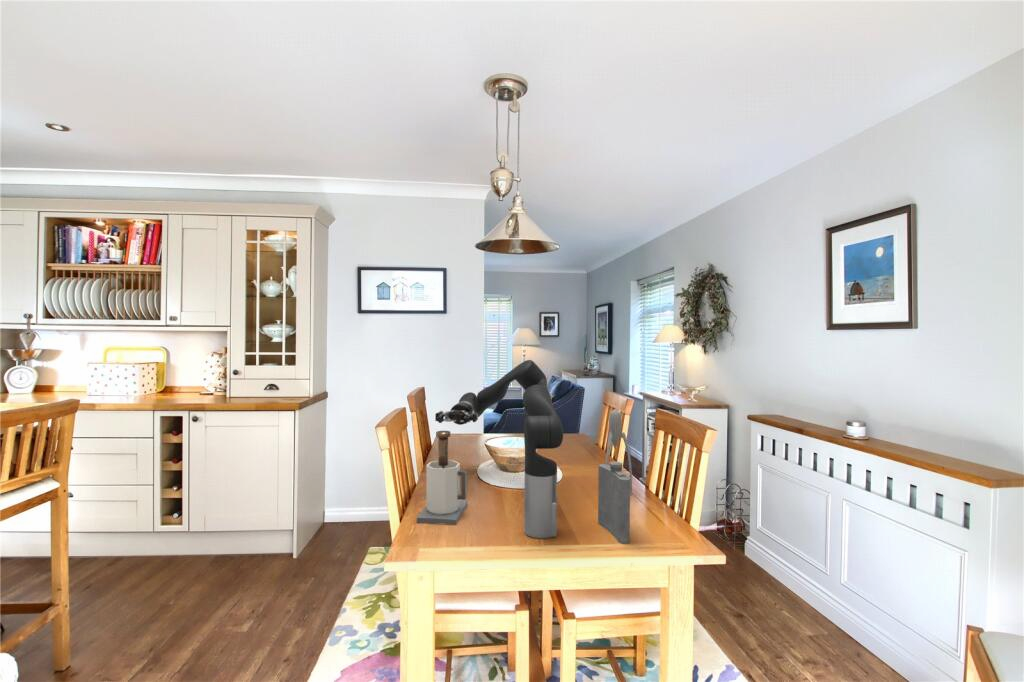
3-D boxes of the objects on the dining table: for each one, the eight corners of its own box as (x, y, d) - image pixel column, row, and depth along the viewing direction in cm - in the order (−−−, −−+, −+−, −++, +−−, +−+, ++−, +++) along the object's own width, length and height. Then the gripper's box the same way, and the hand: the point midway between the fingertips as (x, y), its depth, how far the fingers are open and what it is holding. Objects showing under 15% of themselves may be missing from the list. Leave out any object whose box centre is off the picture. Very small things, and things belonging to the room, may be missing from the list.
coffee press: (471, 505, 164) (471, 458, 164) (460, 524, 148) (460, 472, 148) (431, 503, 166) (431, 457, 165) (416, 522, 150) (416, 471, 149)
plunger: (458, 500, 160) (458, 429, 160) (452, 509, 153) (452, 435, 152) (434, 499, 161) (434, 429, 161) (427, 507, 154) (427, 434, 153)
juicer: (632, 501, 169) (633, 412, 168) (605, 499, 171) (606, 411, 170) (631, 491, 179) (632, 407, 178) (605, 489, 181) (606, 406, 180)
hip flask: (596, 522, 151) (596, 456, 150) (608, 520, 152) (609, 455, 152) (620, 544, 136) (621, 471, 135) (634, 542, 137) (635, 470, 136)
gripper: (443, 401, 185) (431, 408, 169) (481, 402, 183) (473, 409, 167) (443, 422, 185) (431, 430, 169) (481, 423, 183) (473, 432, 167)
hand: (452, 420), depth 168 cm, fingers open, 8 cm apart
